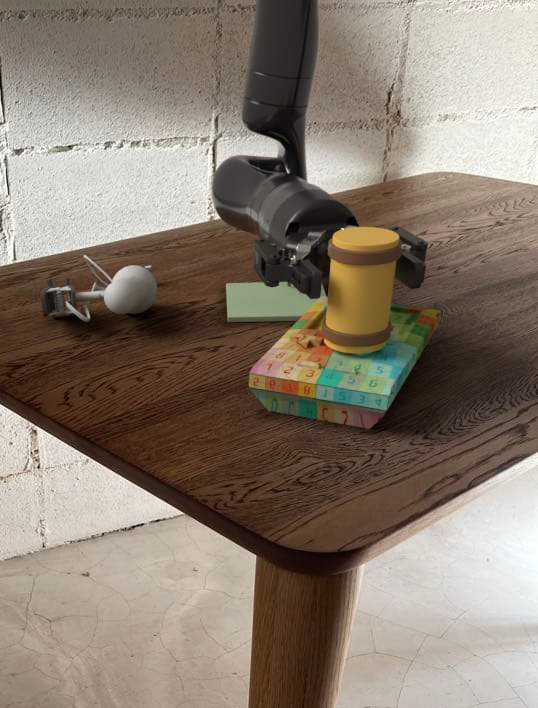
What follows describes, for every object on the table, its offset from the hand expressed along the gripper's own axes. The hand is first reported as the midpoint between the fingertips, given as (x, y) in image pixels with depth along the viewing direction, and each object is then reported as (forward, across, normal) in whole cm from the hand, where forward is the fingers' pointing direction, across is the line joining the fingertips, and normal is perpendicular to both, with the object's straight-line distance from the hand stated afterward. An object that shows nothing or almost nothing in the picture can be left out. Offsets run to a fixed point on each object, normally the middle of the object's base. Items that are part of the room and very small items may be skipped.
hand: (368, 282), depth 71 cm
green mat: (-25, 0, +10) cm, 27 cm away
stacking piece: (-2, 0, +6) cm, 6 cm away
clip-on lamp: (-28, -18, +11) cm, 35 cm away
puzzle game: (-4, +1, +11) cm, 11 cm away
